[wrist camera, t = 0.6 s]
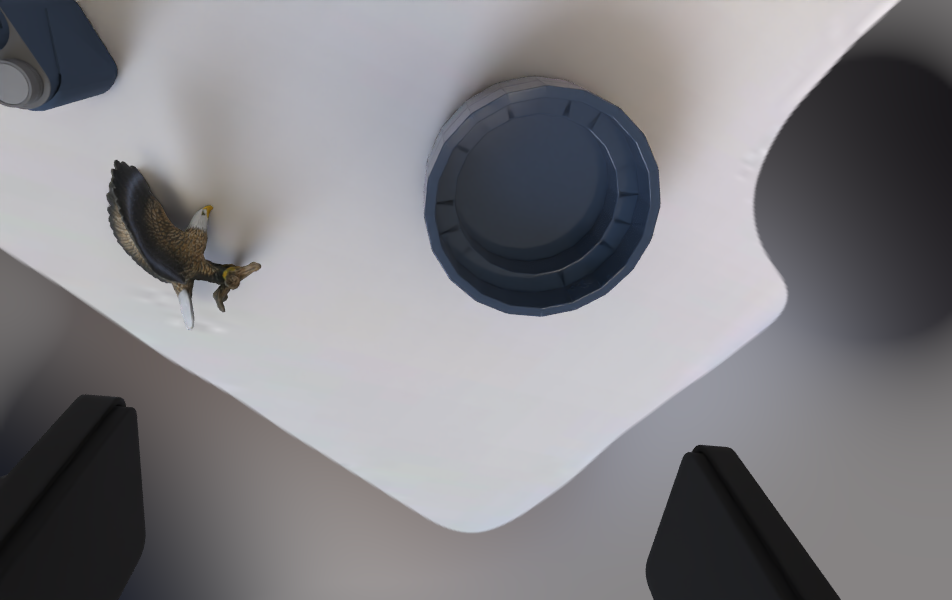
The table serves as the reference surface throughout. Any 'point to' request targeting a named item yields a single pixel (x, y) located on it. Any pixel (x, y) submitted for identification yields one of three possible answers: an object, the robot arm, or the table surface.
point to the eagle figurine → (166, 241)
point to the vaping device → (50, 55)
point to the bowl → (539, 196)
